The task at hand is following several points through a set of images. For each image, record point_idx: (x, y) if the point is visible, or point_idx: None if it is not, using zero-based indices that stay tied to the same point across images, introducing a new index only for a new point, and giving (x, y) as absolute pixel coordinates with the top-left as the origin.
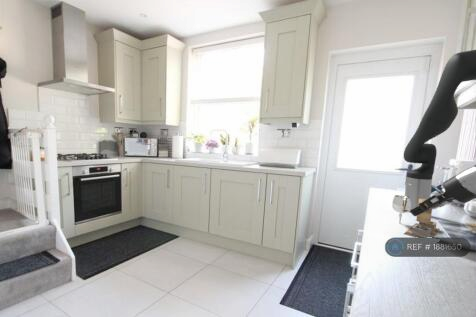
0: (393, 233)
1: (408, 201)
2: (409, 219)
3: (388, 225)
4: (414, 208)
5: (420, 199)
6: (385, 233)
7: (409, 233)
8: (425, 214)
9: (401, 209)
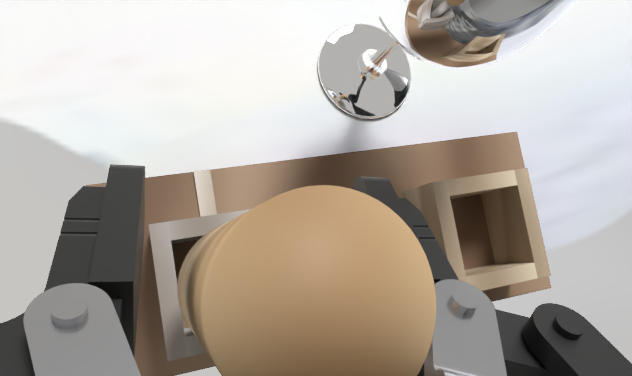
0: (143, 102)
1: (497, 6)
2: (626, 50)
3: (318, 5)
4: (104, 211)
5: (237, 236)
6: (68, 63)
7: (158, 210)
8: (194, 333)
9: (380, 9)
